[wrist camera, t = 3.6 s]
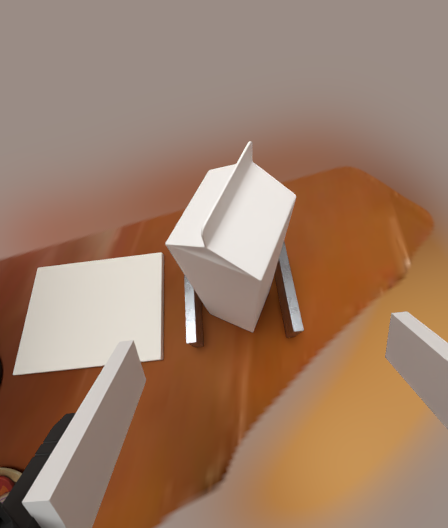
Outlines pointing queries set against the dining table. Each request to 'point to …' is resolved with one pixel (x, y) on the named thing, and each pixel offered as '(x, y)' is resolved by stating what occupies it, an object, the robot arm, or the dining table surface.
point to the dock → (285, 297)
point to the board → (93, 313)
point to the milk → (233, 239)
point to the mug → (0, 371)
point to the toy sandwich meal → (7, 481)
